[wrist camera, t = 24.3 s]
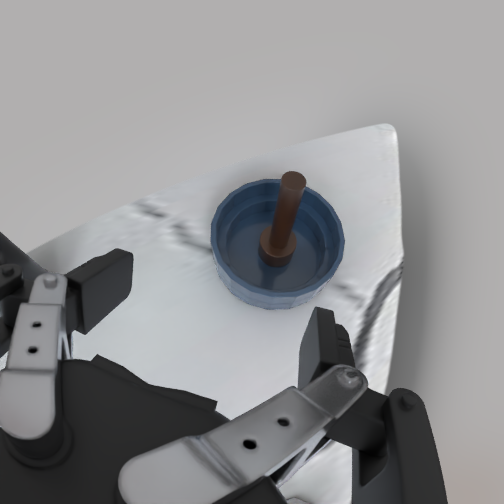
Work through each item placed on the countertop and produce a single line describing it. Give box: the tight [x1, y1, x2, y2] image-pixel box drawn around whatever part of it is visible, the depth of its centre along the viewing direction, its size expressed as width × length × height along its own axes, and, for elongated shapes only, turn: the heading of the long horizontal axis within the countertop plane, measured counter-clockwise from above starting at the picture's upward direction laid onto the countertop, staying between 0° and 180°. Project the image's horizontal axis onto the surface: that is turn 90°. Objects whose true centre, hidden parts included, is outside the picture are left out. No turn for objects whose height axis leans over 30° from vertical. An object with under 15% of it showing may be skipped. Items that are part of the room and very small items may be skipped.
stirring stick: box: [258, 171, 306, 267], centre depth 31 cm, size 4×4×14 cm
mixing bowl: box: [211, 179, 345, 310], centre depth 36 cm, size 15×15×6 cm
